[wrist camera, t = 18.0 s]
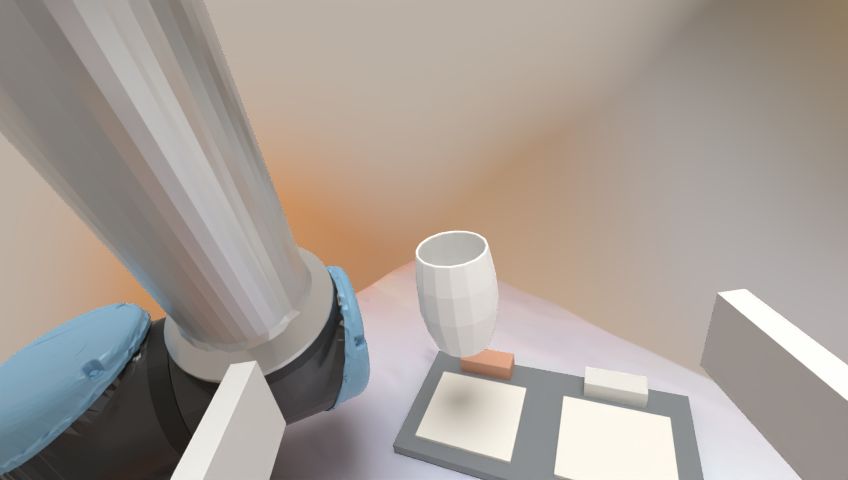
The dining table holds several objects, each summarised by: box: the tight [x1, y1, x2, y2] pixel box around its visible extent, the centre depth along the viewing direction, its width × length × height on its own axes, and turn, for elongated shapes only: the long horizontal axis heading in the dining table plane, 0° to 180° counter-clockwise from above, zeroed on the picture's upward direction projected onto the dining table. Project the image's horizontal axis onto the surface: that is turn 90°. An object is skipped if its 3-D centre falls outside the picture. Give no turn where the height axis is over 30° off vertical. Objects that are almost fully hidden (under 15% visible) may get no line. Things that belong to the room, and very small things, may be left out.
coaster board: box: [393, 349, 704, 480], centre depth 41 cm, size 28×14×3 cm, turn 68°
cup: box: [416, 231, 499, 358], centre depth 38 cm, size 7×7×21 cm
